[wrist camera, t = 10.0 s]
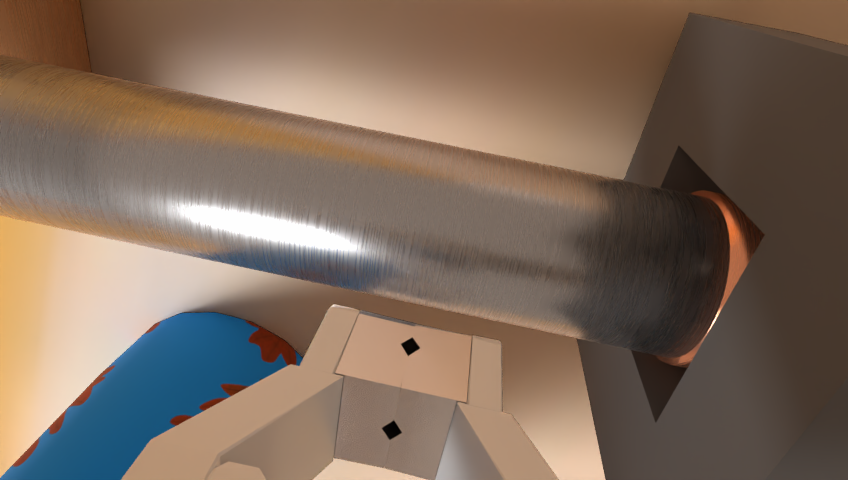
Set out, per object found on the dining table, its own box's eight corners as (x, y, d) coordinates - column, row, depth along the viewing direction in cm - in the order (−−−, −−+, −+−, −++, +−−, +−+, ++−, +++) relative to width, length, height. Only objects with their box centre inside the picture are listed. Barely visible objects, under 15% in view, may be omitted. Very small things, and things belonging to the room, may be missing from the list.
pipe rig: (859, 308, 20) (1098, 540, 12) (58, 142, 21) (-211, 253, 13) (986, 139, 16) (1444, 308, 8) (18, -50, 17) (-383, -58, 10)
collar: (647, 328, 20) (784, 671, 10) (571, 313, 20) (637, 637, 10) (794, 32, 14) (1382, 176, 5) (689, 12, 14) (1059, 115, 5)
